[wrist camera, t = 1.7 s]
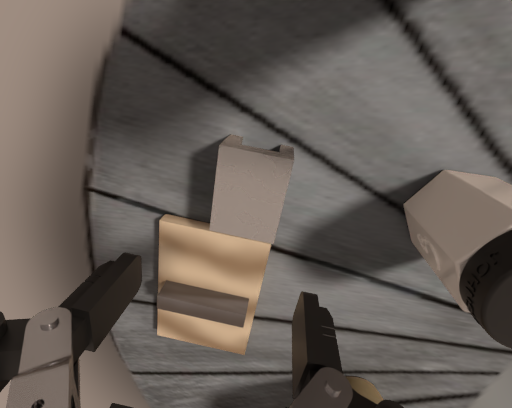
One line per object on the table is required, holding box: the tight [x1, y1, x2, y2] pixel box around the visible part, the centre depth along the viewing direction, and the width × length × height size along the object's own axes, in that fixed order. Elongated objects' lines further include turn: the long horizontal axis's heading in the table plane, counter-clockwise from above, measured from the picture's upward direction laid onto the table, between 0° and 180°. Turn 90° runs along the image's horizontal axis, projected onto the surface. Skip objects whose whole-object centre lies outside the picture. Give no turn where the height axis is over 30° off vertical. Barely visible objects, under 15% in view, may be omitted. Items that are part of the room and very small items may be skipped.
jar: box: [403, 170, 512, 348], centre depth 20 cm, size 9×8×12 cm
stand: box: [157, 214, 271, 355], centre depth 32 cm, size 18×12×4 cm, turn 170°
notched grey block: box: [209, 134, 294, 244], centre depth 25 cm, size 6×8×4 cm
